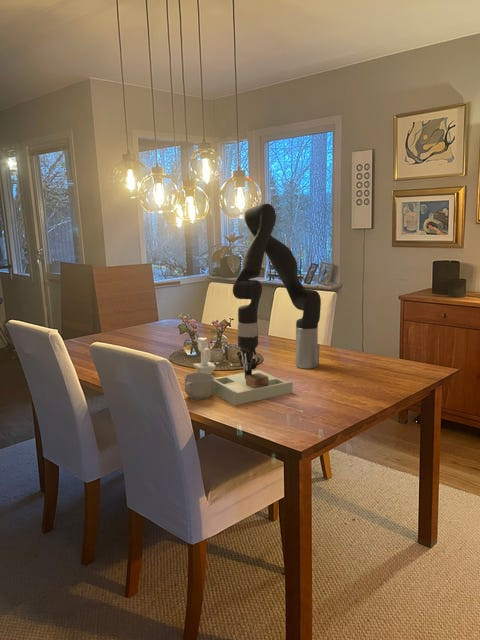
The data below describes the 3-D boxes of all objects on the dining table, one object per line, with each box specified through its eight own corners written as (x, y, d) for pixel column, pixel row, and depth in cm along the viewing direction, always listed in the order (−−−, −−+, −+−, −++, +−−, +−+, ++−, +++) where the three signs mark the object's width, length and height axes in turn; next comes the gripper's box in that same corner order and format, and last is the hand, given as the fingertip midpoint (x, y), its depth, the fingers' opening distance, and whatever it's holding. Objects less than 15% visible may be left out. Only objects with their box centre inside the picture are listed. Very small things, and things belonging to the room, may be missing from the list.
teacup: (199, 390, 201) (198, 369, 200) (221, 396, 194) (220, 375, 193) (172, 400, 191) (171, 379, 189) (194, 407, 184) (193, 384, 182)
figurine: (200, 377, 217) (199, 341, 214) (192, 371, 225) (191, 336, 222) (217, 375, 220) (216, 339, 217) (208, 369, 228) (207, 335, 225)
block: (259, 381, 201) (259, 372, 200) (268, 386, 196) (268, 376, 195) (245, 384, 198) (245, 375, 197) (254, 388, 193) (254, 379, 192)
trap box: (259, 376, 217) (258, 364, 216) (293, 393, 197) (293, 379, 196) (204, 387, 205) (203, 374, 204) (234, 405, 185) (234, 391, 184)
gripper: (230, 331, 201) (230, 376, 204) (248, 338, 189) (248, 385, 193) (247, 329, 204) (247, 373, 208) (266, 336, 193) (266, 382, 197)
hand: (248, 379), depth 200 cm, fingers closed
